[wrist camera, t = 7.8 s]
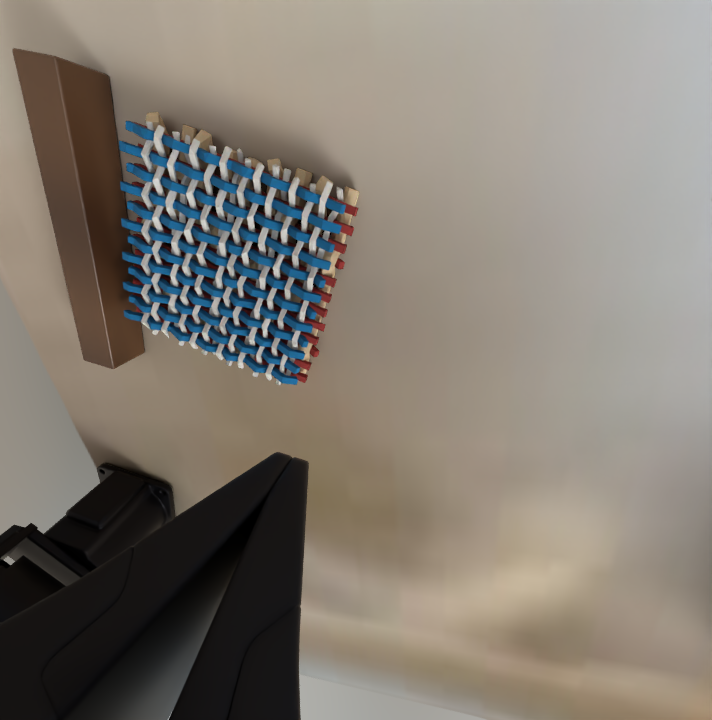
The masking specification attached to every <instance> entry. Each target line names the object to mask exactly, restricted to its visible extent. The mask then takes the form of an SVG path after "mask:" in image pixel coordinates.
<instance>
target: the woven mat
mask: <svg viewBox="0 0 712 720" xmlns="http://www.w3.org/2000/svg"><path fill="white" fill-rule="evenodd" d="M145 123H146V125H147V127H146V126H144V125H141V124H138V123H135V122H131V121H126V130H128V131H130V132H132V133H134V134H136V135H138V136H140V137H142V138H144V139H147V141H146V143H145V145H144V146H143V145H141V144H139V143H138V146H135V145H132V144H129V143H127V142H123V141H119V148H120V151H123V152H126V153H129V154H132V155H135V156H138V157H141V158H143V160H144V162H145V164H146V166H144V165H142V164H137V163H134V164H132V163H127V171H128V172H131V173H133V174H134V175H136V176H137V177H139V178H140V179H142V180H143V181H146V184H145V185H144V184H142V183H139V182H132V184H129V183H127V182H123V181H120V186H121V190H122V191H125V192H127V193H130V194H133V195H137V196H140V197H142V198H143V200H144V202H145V203H143V202H141V201H138V200H135V201H131V200H130V201H127V209H130V210H133V211H134V212H135V213H136V214H138V215H139V216H140V217H137V222H135V221H131V220H129V219H124V218H121V223H122V227H125V228H127V229H130V230H134V231H137V232H141V233H142V234H143V236H142V235H140V234H133V235H129V236H128V243H131V244H133V245H135V246H136V247H137V248H138V249H135V254H131V253H129V252H122V257H123V259H124V260H126V261H128V262H132V263H136V264H134V266H130V267H129V268H128V273H129V274H132V275H134V276H135V277H136V278H135V279H133V284H132V283H131V282H129V281H127V282H123V289H125V290H127V291H130V292H134V293H133V294H131V295H130V296H129V302H132V303H134V304H135V305H136V306H137V312H142V313H137V312H132V311H131V310H124V317H126V318H128V319H130V320H135V321H140V322H141V323H142V324H144V325H145V326H146V327H147V328H149V329H153V332H152V334H155V335H157V333H158V331H159V330H161V331H162V332H163V333H164V334H165V335H166V336H167V337H168V338H169V335H168V332H167V331H170V332H171V333H172V334H173V335H174V337H176V338H177V339H178V340H179V341H180V342H179V345H181V346H183V345H184V343H185V341H188V342H189V343H190V345H191V346H192V348H193V349H198V347H197V345H196V344H198V345H199V346H200V347H201V348H202V349H203V350H202V354H205V355H207V353H208V352H211V353H213V354H216V355H217V357H218V358H219V359H220V360H223V359H224V358H225V359H226V361H227V362H226V364H227V365H229V366H231V365H232V362H233V361H237V362H238V366H239V368H244V366H243V362H245V363H246V364H247V365H248V366H249V367H250V368H251V369H252V370H253V371H254V373H253V376H255V377H257V376H258V374H259V373H265V374H266V377H267V379H268V380H269V381H270V380H271V379H272V376H271V375H273V376H274V377H275V378H276V379H277V380H276V383H275V384H278V385H281V383H286V384H294V385H297V381H298V380H299V381H301V382H304V383H305V382H306V380H307V376H308V375H306V371H307V370H309V369H310V366H311V363H310V362H309V359H310V354H311V355H312V356H313V357H317V356H318V354H319V350H318V349H317V348H316V347H315V346H314V345H316V344H317V343H318V340H319V337H317V333H318V330H321V331H323V332H324V328H325V324H323V323H321V319H322V317H326V314H327V311H328V310H327V309H325V306H326V303H329V302H330V300H331V296H332V294H329V292H330V289H331V287H333V288H334V286H335V283H336V280H337V279H335V278H334V276H335V267H336V268H337V269H343V267H344V264H345V262H344V261H342V260H341V259H339V258H338V257H339V255H340V253H342V254H344V253H345V250H346V247H347V245H346V244H344V242H345V239H346V235H350V236H352V233H353V230H354V227H353V226H350V222H351V219H352V215H353V216H356V214H357V210H358V208H356V207H355V205H356V202H357V199H358V195H359V191H357V190H355V189H352V188H349V187H346V186H345V189H344V192H343V191H342V189H341V188H339V187H337V198H338V199H336V198H334V197H331V196H329V193H330V191H331V188H332V186H333V182H332V181H330V180H329V179H327V178H326V177H324V176H323V175H322V176H321V178H320V179H319V180H318V182H317V184H310V181H311V177H312V173H310V172H308V171H305V170H302V169H299V168H297V170H296V174H295V177H294V178H293V181H292V182H291V181H289V178H290V174H291V170H289V169H286V168H285V169H284V172H283V169H282V165H281V162H280V159H272V160H267V163H268V172H265V171H263V169H264V166H263V163H262V162H260V161H258V160H256V159H254V158H250V157H248V158H245V160H244V156H243V152H242V151H241V149H240V148H239V149H238V150H237V151H235V150H232V149H231V148H229V147H227V146H225V149H224V151H223V154H222V155H221V154H219V153H217V151H216V147H215V146H213V142H212V135H211V134H209V133H207V132H206V131H204V130H202V129H201V130H200V132H199V133H198V134H197V135H196V130H197V129H195V128H192V127H190V126H187V125H184V124H183V128H182V136H181V139H180V134H179V132H174V131H172V133H173V136H171V135H168V133H167V130H166V127H165V124H164V123H163V121H162V119H161V117H160V115H159V113H158V112H153V113H147V117H146V121H145ZM170 148H172V149H173V151H172V153H171V155H170ZM178 154H179V158H178V159H177V157H178ZM216 166H220V172H221V176H219V175H217V174H214V170H215V168H216ZM175 171H177V172H175ZM169 174H170V176H169ZM261 182H262V183H264V184H266V185H267V191H266V193H264V192H263V191H261ZM309 185H310V188H309ZM196 186H197V187H196ZM214 186H216V187H218V188H219V189H220V190H219V193H218V195H216V194H214V193H213V187H214ZM287 192H288V193H289V202H288V199H287ZM237 197H238V203H237V202H236V200H237ZM195 198H196V202H195ZM306 201H307V204H306V206H305V202H306ZM151 202H152V203H151ZM259 204H260V205H263V206H264V209H263V212H261V211H259V210H257V208H258V206H259ZM212 206H216V211H217V213H215V212H213V211H211V207H212ZM304 206H305V208H304ZM326 207H327V208H329V209H331V210H332V212H331V213H330V215H329V217H326V215H327V211H326ZM167 211H168V212H167ZM234 216H237V218H236V220H234ZM336 216H337V217H336ZM141 217H142V218H141ZM335 218H336V220H334V219H335ZM298 219H301V220H302V226H301V225H299V224H298V223H297V221H298ZM254 221H255V222H257V223H258V224H260V225H261V227H260V230H258V229H255V225H254ZM194 222H195V223H194ZM308 222H309V224H308V228H307V223H308ZM210 224H211V225H210ZM169 228H170V229H172V230H170V229H169ZM322 230H324V234H323V235H321V234H322ZM231 232H232V235H233V236H232V235H230V233H231ZM278 232H279V233H280V238H278ZM330 232H332V235H331V238H329V234H330ZM192 235H193V237H192ZM296 240H298V243H297V245H296V244H295V243H296ZM253 242H256V243H258V245H257V247H254V246H252V243H253ZM166 243H171V246H169V245H166ZM208 243H209V244H210V246H208V245H207V244H208ZM303 244H304V245H303ZM302 246H303V247H302ZM318 247H319V250H318ZM317 250H318V252H317ZM227 251H228V252H230V253H232V254H229V253H227ZM275 251H276V252H278V256H277V255H274V254H275ZM248 257H249V258H251V260H250V259H249V258H248ZM298 258H299V259H300V261H299V260H298ZM292 259H293V262H292ZM209 260H210V261H211V262H212V263H211V262H210V261H209ZM226 267H227V268H228V269H226ZM271 267H273V269H271ZM319 268H320V272H317V271H318V269H319ZM167 275H170V276H167ZM288 276H289V277H288ZM209 277H210V278H209ZM248 277H250V278H248ZM266 282H267V283H268V284H269V285H270V286H268V285H266ZM313 282H314V283H315V284H316V285H317V287H316V288H314V287H313ZM263 299H267V301H266V300H263ZM306 315H307V316H308V317H305V316H306ZM148 324H149V325H148ZM261 328H262V329H261ZM220 333H221V334H222V335H221V334H220ZM223 356H224V358H223Z"/></svg>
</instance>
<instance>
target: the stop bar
mask: <svg viewBox="0 0 712 720" xmlns="http://www.w3.org/2000/svg"><path fill="white" fill-rule="evenodd" d="M13 55H14V59H15V63H16V68H17V72H18V76H19V81H20V85H21V89H22V94H23V98H24V102H25V107H26V111H27V115H28V120H29V124H30V129H31V133H32V137H33V142H34V146H35V150H36V155H37V159H38V163H39V168H40V172H41V176H42V181H43V185H44V189H45V194H46V198H47V202H48V207H49V211H50V215H51V220H52V224H53V228H54V233H55V237H56V241H57V246H58V250H59V254H60V259H61V263H62V267H63V272H64V276H65V280H66V285H67V289H68V293H69V298H70V302H71V306H72V311H73V315H74V319H75V324H76V328H77V332H78V337H79V341H80V345H81V350H82V354H83V358H84V360H85V361H88V362H91V363H95V364H98V365H101V366H105V367H108V368H111V369H115V368H116V367H118V366H120V365H122V364H124V363H126V362H128V361H130V360H131V359H133V358H135V357H137V356H139V355H141V354H143V353H144V352H145V351H144V343H143V335H142V328H141V322H140V321H135V320H130V319H128V318H126V317H124V310H131V311H132V312H137V306H136V305H135V304H134V303H132V302H129V296H130V295H131V294H133V293H134V292H130V291H127V290H125V289H123V282H127V281H129V282H131V283H132V284H133V279H135V276H134V275H132V274H129V273H128V268H129V267H130V266H133V263H132V262H128V261H126V260H124V259H123V257H122V252H129V253H131V254H132V251H131V243H128V236H129V229H127V228H125V227H122V223H121V218H124V219H127V212H126V204H125V197H124V191H122V190H121V186H120V181H122V174H121V166H120V158H119V151H118V143H117V135H116V127H115V120H114V112H113V104H112V97H111V89H110V81H109V76H108V75H106V74H104V73H101V72H98V71H95V70H93V69H90V68H87V67H84V66H81V65H79V64H76V63H73V62H70V61H68V60H65V59H62V58H59V57H57V56H52V55H47V54H42V53H37V52H31V51H26V50H21V49H16V48H15V49H13ZM137 313H140V312H137Z"/></svg>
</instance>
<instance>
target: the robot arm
mask: <svg viewBox="0 0 712 720" xmlns="http://www.w3.org/2000/svg"><path fill="white" fill-rule="evenodd" d="M308 468H309V463H308V461H305V460H302V459H299V458H296V457H294V458H292V457H291V456H289V455H286V454H283V453H280V452H276V453H274V454H272V455H271V456H269V457H268V458H266V459H265V460H263V461H262V462H260V463H259V464H257V465H255V466H254V467H252V468H251V469H249V470H248V471H246V472H245V473H243V474H242V475H240V476H238V477H237V478H235V479H234V480H232V481H231V482H229V483H228V484H226V485H225V486H223V487H222V488H220V489H218V490H217V491H215V492H214V493H212V494H211V495H209V496H208V497H206V498H205V499H203V500H202V501H200V502H198V503H197V504H195V505H194V506H192V507H191V508H189V509H188V510H186V511H185V512H183V513H181V514H180V515H178V516H177V517H175V510H174V501H173V492H172V488H171V487H170V486H169V485H167V484H164V483H161V482H158V481H155V480H152V479H149V478H146V477H143V476H140V475H137V474H134V473H131V472H128V471H125V470H123V469H120V468H117V467H114V466H111V465H108V464H104V463H103V464H101V465H100V466H99V467H98V468H97V472H98V476H99V479H100V484H98V485H97V486H96V487H95V488H94V489H93V490H91V491H90V492H89V493H88V494H87V495H86V496H84V497H83V498H82V499H81V500H80V501H79V502H77V503H76V504H75V505H74V506H73V507H71V508H70V509H69V510H68V511H67V512H66V515H65V516H64V517H63V518H62V519H60V521H58V522H57V523H56V524H55V525H54V526H52V527H51V528H50V529H49V530H48V531H46V532H45V533H44V534H43V533H41V532H40V531H39V530H37V527H36V526H35V525H34V524H32V523H30V524H29V525H28V526H27V527H21V526H17V525H13V526H12V527H11V528H9V529H8V530H7V531H5V532H4V533H3V534H2V535H0V720H167V719H168V718H169V716H170V714H171V712H172V714H171V716H170V718H169V720H301V718H300V691H299V638H300V616H301V608H300V605H301V594H302V576H303V558H304V540H305V522H306V504H307V486H308ZM7 556H9V557H10V558H12V559H13V560H14V561H15V562H14V563H13V564H12V565H9V564H8V563H7V562H5V561H4V560H3V559H5V558H6V557H7ZM172 710H173V711H172Z"/></svg>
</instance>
